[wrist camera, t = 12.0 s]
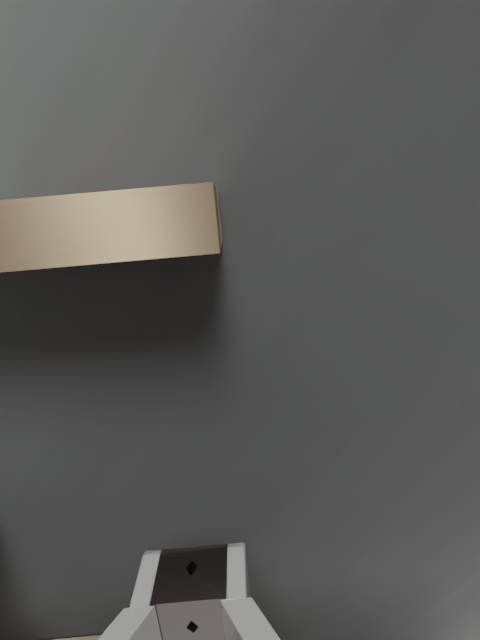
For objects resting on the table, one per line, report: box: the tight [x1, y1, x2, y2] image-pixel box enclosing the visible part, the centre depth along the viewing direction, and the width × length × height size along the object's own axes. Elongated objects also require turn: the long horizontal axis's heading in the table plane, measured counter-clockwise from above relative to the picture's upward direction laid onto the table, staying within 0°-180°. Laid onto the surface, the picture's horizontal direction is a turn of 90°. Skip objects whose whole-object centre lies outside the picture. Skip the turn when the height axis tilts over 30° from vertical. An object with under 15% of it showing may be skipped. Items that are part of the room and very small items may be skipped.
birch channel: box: [0, 182, 223, 640], centre depth 13 cm, size 12×21×4 cm, turn 5°
